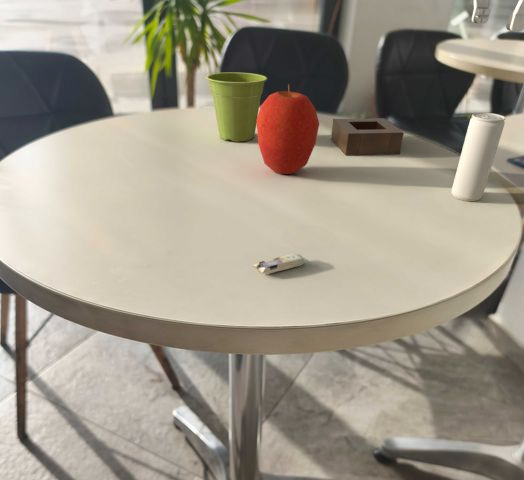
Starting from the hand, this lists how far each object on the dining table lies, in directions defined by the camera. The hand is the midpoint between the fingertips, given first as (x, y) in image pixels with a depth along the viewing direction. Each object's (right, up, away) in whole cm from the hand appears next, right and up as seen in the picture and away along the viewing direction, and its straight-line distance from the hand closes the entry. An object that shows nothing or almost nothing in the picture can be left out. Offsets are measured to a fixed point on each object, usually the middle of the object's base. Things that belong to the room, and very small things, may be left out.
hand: (495, 26), depth 67 cm
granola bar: (-30, -34, -8) cm, 46 cm away
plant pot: (-37, 0, +36) cm, 51 cm away
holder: (-11, -3, +33) cm, 35 cm away
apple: (-28, -13, +20) cm, 36 cm away
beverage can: (+1, -20, +12) cm, 23 cm away
